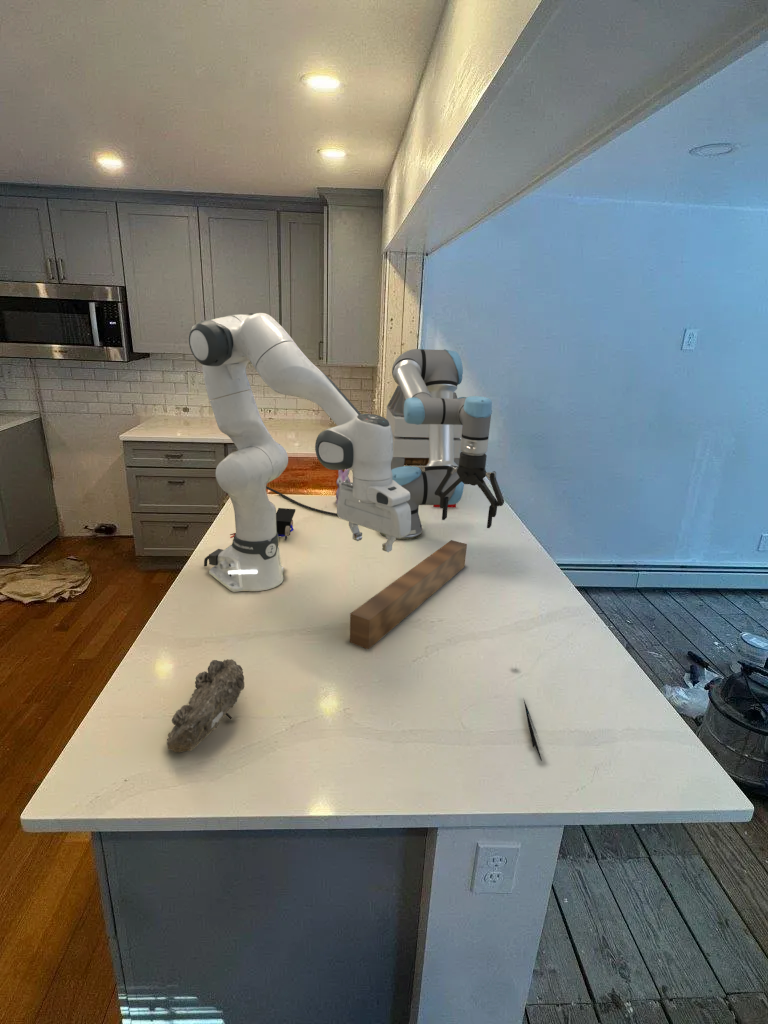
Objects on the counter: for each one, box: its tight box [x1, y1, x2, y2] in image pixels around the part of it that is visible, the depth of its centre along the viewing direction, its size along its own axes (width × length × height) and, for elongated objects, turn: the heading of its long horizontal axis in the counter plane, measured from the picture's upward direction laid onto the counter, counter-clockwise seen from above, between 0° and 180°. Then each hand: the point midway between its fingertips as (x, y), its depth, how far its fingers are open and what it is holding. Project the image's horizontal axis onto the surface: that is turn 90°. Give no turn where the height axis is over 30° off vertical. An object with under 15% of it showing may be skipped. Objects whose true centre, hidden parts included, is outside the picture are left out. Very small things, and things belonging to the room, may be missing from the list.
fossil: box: [166, 658, 245, 754], centre depth 106 cm, size 22×10×15 cm
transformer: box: [385, 384, 463, 470], centre depth 268 cm, size 34×33×41 cm
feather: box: [514, 668, 543, 762], centre depth 113 cm, size 2×28×2 cm
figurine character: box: [276, 507, 296, 541], centre depth 193 cm, size 7×8×15 cm
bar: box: [349, 539, 468, 650], centre depth 154 cm, size 55×5×8 cm, turn 149°
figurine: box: [335, 469, 351, 505], centre depth 225 cm, size 9×10×15 cm
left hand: (371, 545), depth 131 cm, fingers open, 8 cm apart
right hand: (466, 522), depth 167 cm, fingers open, 13 cm apart
